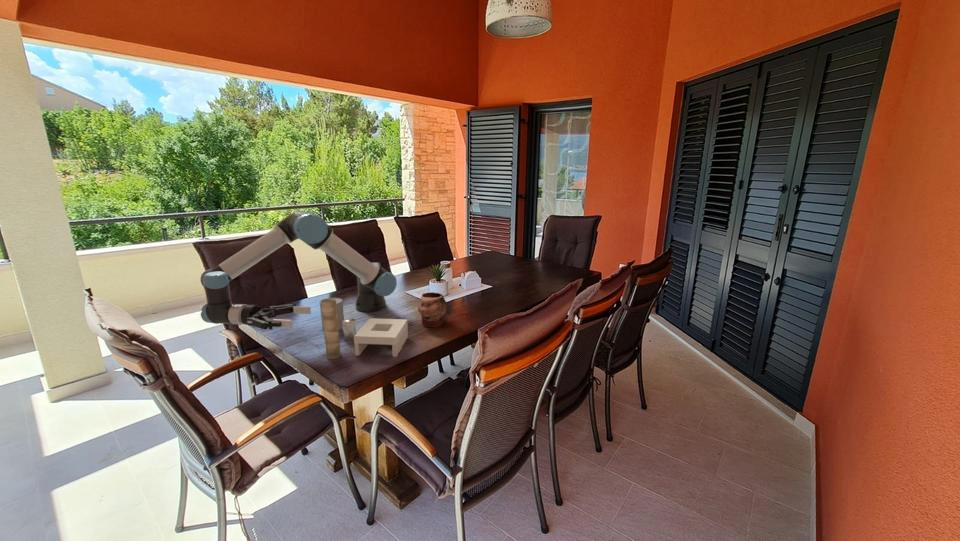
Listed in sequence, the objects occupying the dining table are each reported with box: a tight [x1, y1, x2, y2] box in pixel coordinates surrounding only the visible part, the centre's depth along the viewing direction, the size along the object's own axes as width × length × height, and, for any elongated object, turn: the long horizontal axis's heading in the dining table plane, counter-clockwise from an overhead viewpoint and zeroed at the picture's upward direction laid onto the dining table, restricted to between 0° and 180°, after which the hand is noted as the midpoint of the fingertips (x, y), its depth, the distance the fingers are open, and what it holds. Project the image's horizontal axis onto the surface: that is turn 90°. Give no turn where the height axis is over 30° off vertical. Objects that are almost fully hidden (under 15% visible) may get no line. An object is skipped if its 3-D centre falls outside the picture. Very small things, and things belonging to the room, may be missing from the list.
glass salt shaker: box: [342, 317, 357, 342], centre depth 160 cm, size 5×5×8 cm
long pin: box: [321, 298, 342, 360], centre depth 143 cm, size 5×5×22 cm
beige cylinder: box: [319, 297, 345, 331], centre depth 171 cm, size 10×10×12 cm
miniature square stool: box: [353, 317, 409, 358], centre depth 153 cm, size 18×16×8 cm
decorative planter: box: [417, 292, 448, 328], centre depth 177 cm, size 20×12×14 cm, turn 168°
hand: (301, 316), depth 142 cm, fingers open, 13 cm apart
